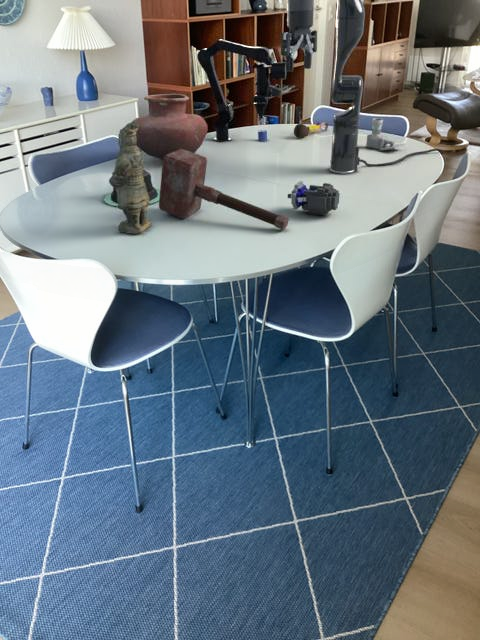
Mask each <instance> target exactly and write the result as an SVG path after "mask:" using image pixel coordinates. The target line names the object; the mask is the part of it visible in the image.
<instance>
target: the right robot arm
mask: <svg viewBox="0 0 480 640" xmlns="http://www.w3.org/2000/svg"><path fill="white" fill-rule="evenodd" d="M314 6H315V0H287V10H286V11H287V15H286V17H287V18H286V22H287V23H286V26H287V28H288V29H289V32H282V33H281V38H280V39H281V41H280V56H281V57H282V56H283V57H285V62H286V73H287V72H289V73H291V72H294V61H295V58H294V56H295V53H296V52H297V51H298V49H301V50H302V52H303V53H304V56H303V69H305V70H309V69H311V68H312V59H313V55H314V53H317V52H318V30H317V29H311V28H312V27H313V26H314V11H315V10H314ZM365 15H366V11H365V6H364V3H363V0H337V7H336V18H335V34H334V35H335V39H334V59H333V67H332V68H333V69H332V77H331V85H330V87H331V88H330V99H331V102H332V104H335V105H351V106H350V107H349V108H347V109H345V110H343V111H341V112H338V113H335V115H334V116H333V119H332V121H333V123H332V124H333V125H332V136H331V138H332V139H331V153H330V160H329V163H330V168H329V171H330V172H331V173H334V174H340V175H346V174H352V173H355V172H358V166H360V163H363V164H364V165H365V166H366V167H382V166H383V167H384V166H389V165H394V164H397V163H399V162H402V161H404V160H406V159H407V158H409V157H411V156H415V155H420V154H421V155H422V154H428V153H431V152H440V153H441V154H444V153H445V151H444V150H443V149H442V148H431V149H427V150H421V151H415V152H411V153H408V154H406V155H404V156H402V157H401V158H398V159H396V160H394V161H389V162H382V163H368V162H367V161H366V160H365V159H362V158H360V157H359V151H360V145H359V144H358V138H359V127H360V114H361V113H360V112H361V104H362V98H363V90H364V80H363V77H362V76H361V75H343V74H342V73H343V70H344V67H345V65H346V63H347V61H348V60H349V57H350V55H351V54H352V52H353V51H354V50H355V48H356V47H357V45H358V44H359V42H360V40H361V38H362V37H363V35H364V27H365V17H366V16H365Z"/></svg>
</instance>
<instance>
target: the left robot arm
mask: <svg viewBox="0 0 480 640" xmlns="http://www.w3.org/2000/svg"><path fill="white" fill-rule="evenodd" d="M221 51H224V52H229V53H233V54H236V55H239V56H240V55H241V56H244V57H247V58H250V59H251V60H252V61H255V62H254V63H253V64H252V65H251V69H255V94H254V96H253V98H252V103H253V105H254V108H255V110H256V112H257V115H258V118H259V119H263V117H264V115H266V111H267V106H268V103H269V101H270V100H271V98H272V96H274V97H275V98H277V99H279V98H280V97H281V94H282V91H283V89H282V88H281V85H280V84H275V85H272V84H271V81H270V78H272V80H286V79H287V71H286V61H281V62H274V60H273V58H272V57H271V53H270V49H269V48H268V47H265V46H250V45H249V46H248V45H245V44H242V43H241V44H240V43H237V42H232V41H229V40H226V39H223V38H221V39H218V40H216V42H214V43H213V44H212V45H210V46H209V47H207V48H202V49H200V50H199V51H198V53H197V54H196V58H197V61H198V63H199V65H200V66H201V68H202V70H203V71H204V73H205V74H206V77H207V81H208V83H209V86H210V89H211V91H212V94H213V98H214V100H215V103H216V110H217V111H216V112H217V117H218V118H217V119H216V120H215V122H214V123H213V125H214V128H215V137H214V138H213V140H214V141H216V142H220V143H221V142H228V141H232V138H230V137H229V125H230V122H231V121H232V120H233V118H234V113H235V111H234V109H233V107H232V103H228V101H226V98H225V96H224V92H223V90H222V86H221V84H220V80H219V77H218V75H217V72H216V69H215V68H216V67H215V59H214V56H215V55H217V54H218V53H220V52H221Z"/></svg>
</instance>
